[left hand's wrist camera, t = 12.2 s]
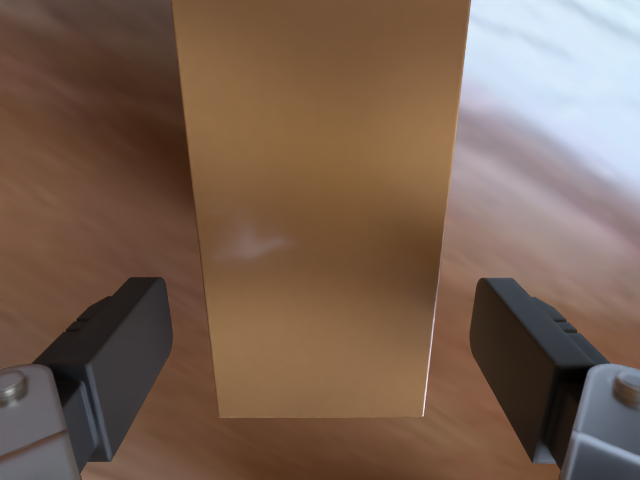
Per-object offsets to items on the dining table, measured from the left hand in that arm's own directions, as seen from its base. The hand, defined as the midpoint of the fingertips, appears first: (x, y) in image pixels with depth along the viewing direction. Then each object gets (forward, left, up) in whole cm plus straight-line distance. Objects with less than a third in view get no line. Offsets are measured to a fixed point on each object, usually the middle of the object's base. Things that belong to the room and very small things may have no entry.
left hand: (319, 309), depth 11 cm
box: (+7, +1, -12) cm, 14 cm away
